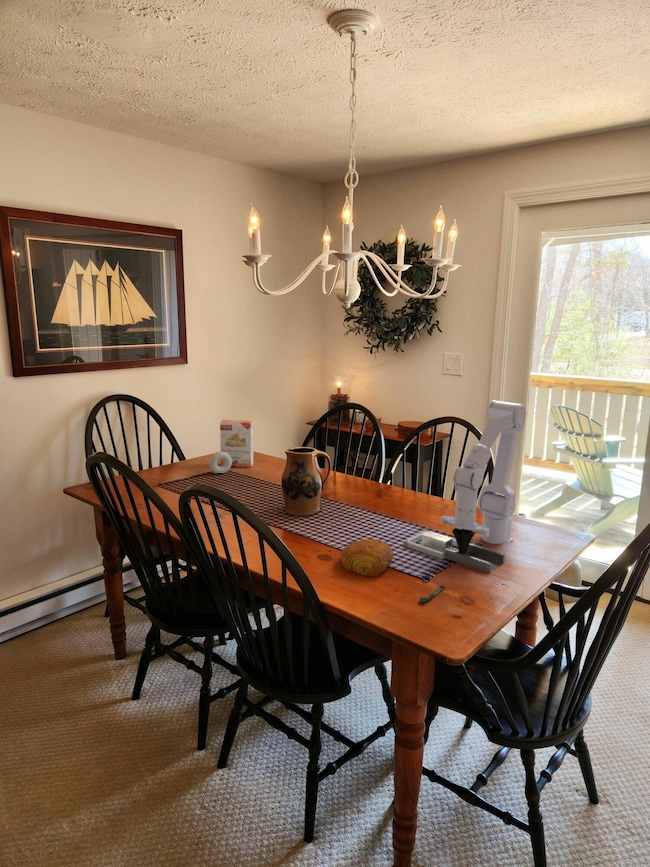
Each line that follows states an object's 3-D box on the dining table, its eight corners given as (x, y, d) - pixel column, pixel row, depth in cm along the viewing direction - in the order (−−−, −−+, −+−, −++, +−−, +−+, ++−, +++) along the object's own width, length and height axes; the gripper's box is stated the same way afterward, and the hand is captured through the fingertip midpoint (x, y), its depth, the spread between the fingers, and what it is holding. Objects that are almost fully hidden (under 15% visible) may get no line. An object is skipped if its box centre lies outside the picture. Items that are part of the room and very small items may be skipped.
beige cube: (428, 543, 173) (429, 531, 172) (439, 547, 170) (440, 534, 169) (421, 547, 170) (421, 534, 169) (432, 551, 167) (433, 538, 166)
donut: (210, 476, 240) (210, 453, 237) (208, 474, 243) (207, 451, 240) (233, 473, 244) (232, 451, 242) (230, 471, 247) (230, 449, 245)
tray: (425, 537, 178) (426, 530, 178) (462, 549, 170) (463, 541, 169) (403, 548, 170) (404, 541, 169) (441, 562, 161) (442, 554, 160)
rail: (460, 551, 169) (460, 540, 168) (504, 565, 159) (505, 554, 159) (444, 560, 162) (445, 549, 161) (489, 576, 153) (490, 564, 152)
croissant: (397, 566, 163) (400, 539, 162) (381, 582, 149) (384, 552, 148) (351, 555, 169) (354, 529, 168) (331, 570, 155) (334, 541, 154)
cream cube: (440, 547, 170) (440, 534, 169) (451, 550, 168) (452, 538, 167) (433, 550, 167) (433, 538, 166) (444, 554, 165) (445, 542, 164)
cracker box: (220, 467, 254) (219, 421, 249) (223, 463, 259) (222, 419, 255) (251, 468, 253) (250, 422, 248) (253, 464, 259) (253, 420, 254)
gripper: (436, 505, 162) (433, 549, 165) (482, 518, 152) (478, 564, 155) (449, 499, 167) (446, 542, 170) (494, 511, 157) (490, 557, 160)
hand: (462, 552), depth 163 cm, fingers closed
